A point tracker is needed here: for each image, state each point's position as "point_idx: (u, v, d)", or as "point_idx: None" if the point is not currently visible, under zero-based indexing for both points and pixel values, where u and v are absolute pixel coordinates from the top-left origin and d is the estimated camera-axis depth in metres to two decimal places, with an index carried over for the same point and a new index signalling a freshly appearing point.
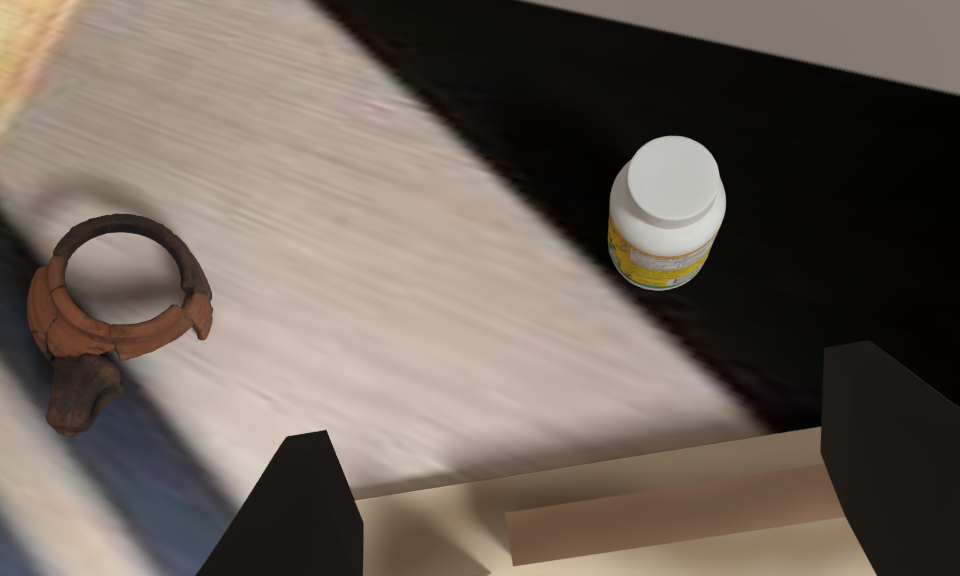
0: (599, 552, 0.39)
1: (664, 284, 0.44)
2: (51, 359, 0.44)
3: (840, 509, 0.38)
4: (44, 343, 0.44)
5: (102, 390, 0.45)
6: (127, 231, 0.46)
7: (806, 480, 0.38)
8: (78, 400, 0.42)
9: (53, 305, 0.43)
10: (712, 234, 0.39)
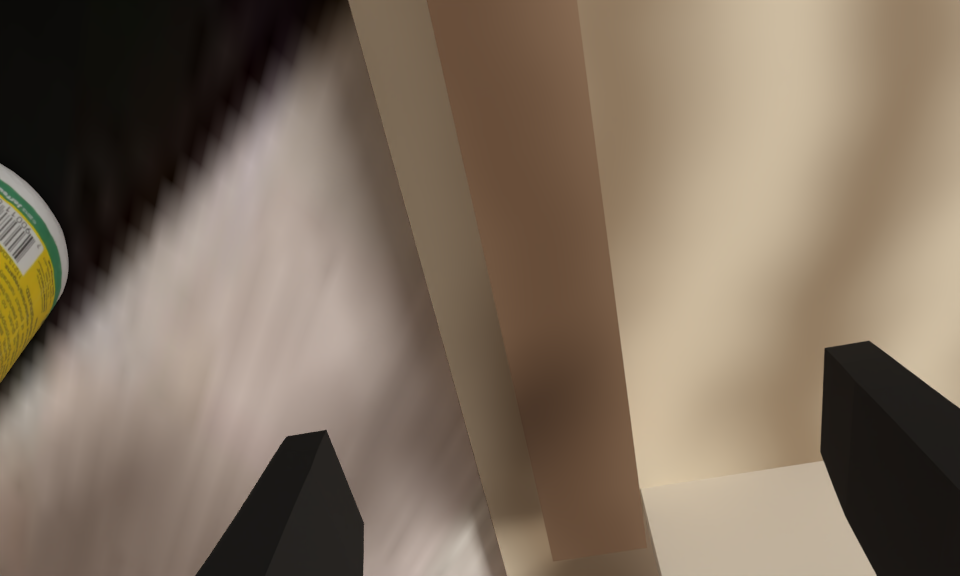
0: (630, 433, 0.19)
1: (40, 259, 0.19)
2: None
3: None
4: None
5: None
6: None
7: (469, 27, 0.14)
8: None
9: None
10: None
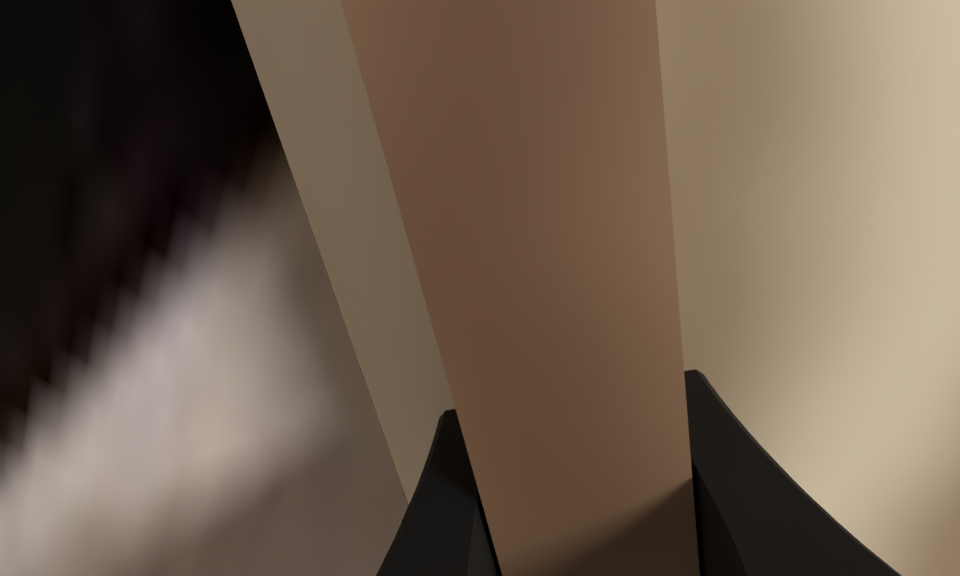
0: None
1: None
2: None
3: (622, 118, 0.07)
4: None
5: None
6: None
7: (480, 262, 0.08)
8: None
9: None
10: None
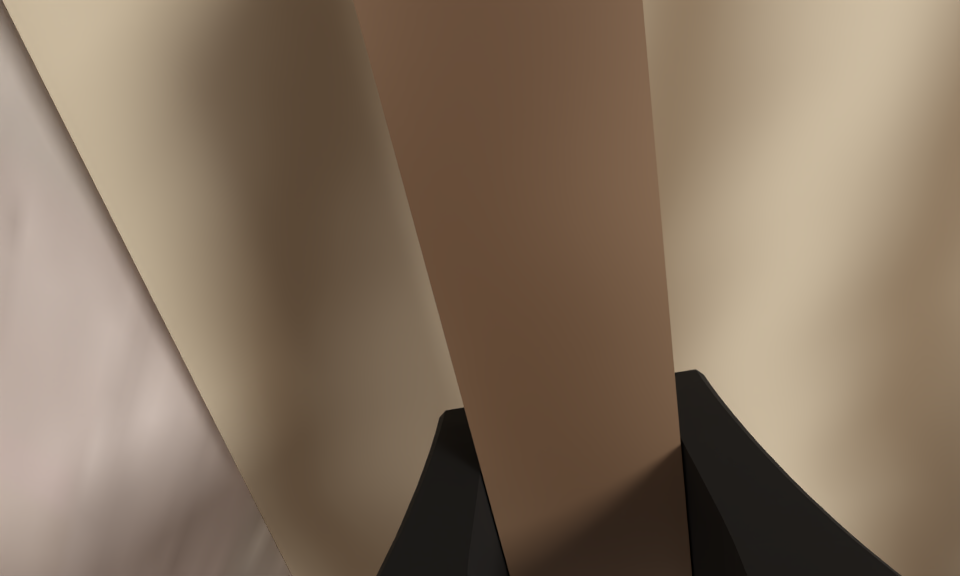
0: None
1: None
2: None
3: (611, 96, 0.08)
4: None
5: None
6: None
7: (477, 232, 0.08)
8: None
9: None
10: None
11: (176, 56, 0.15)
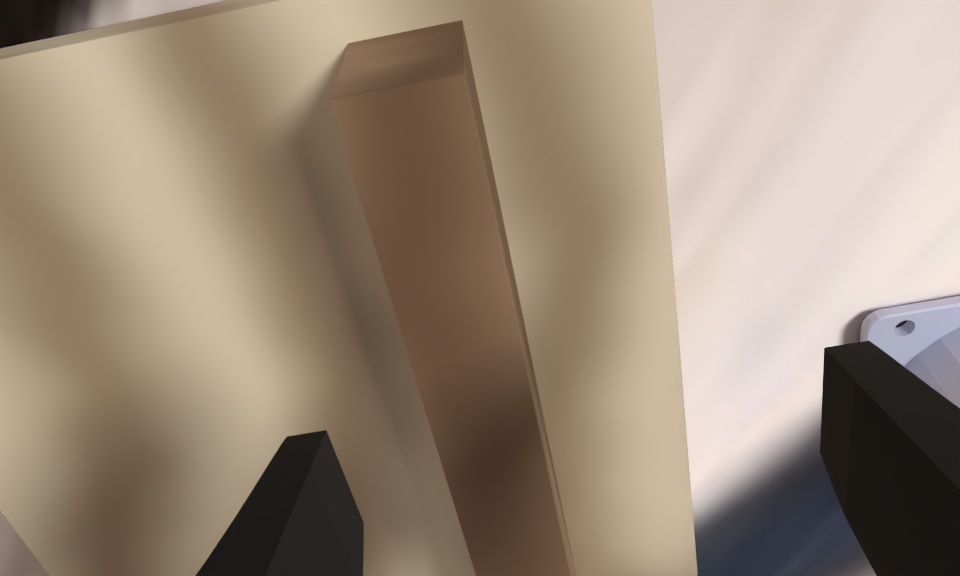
0: None
1: None
2: None
3: (479, 231, 0.16)
4: None
5: None
6: None
7: (419, 292, 0.17)
8: None
9: None
10: None
11: (21, 412, 0.23)
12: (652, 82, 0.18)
